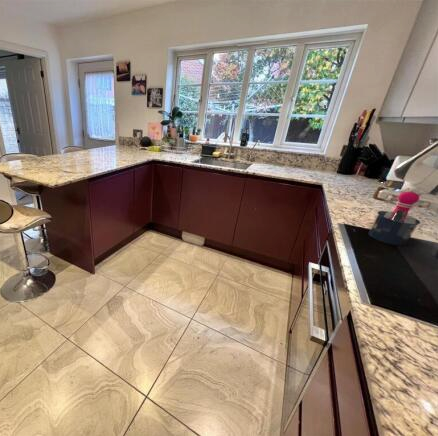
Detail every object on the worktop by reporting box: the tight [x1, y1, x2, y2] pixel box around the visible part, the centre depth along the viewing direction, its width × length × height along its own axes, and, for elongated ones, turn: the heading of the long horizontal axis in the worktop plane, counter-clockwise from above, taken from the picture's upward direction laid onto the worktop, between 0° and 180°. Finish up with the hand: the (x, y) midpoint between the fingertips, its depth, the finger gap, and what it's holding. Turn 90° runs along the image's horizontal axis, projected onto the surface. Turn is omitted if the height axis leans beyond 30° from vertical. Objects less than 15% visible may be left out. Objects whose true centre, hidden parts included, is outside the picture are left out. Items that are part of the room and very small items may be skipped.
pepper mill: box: [392, 188, 419, 216], centre depth 101 cm, size 7×7×20 cm
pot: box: [368, 214, 418, 247], centre depth 96 cm, size 12×12×10 cm
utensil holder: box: [372, 180, 394, 201], centre depth 145 cm, size 6×6×12 cm
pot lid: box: [376, 209, 421, 226], centre depth 93 cm, size 13×13×4 cm
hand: (405, 202), depth 103 cm, fingers open, 8 cm apart
